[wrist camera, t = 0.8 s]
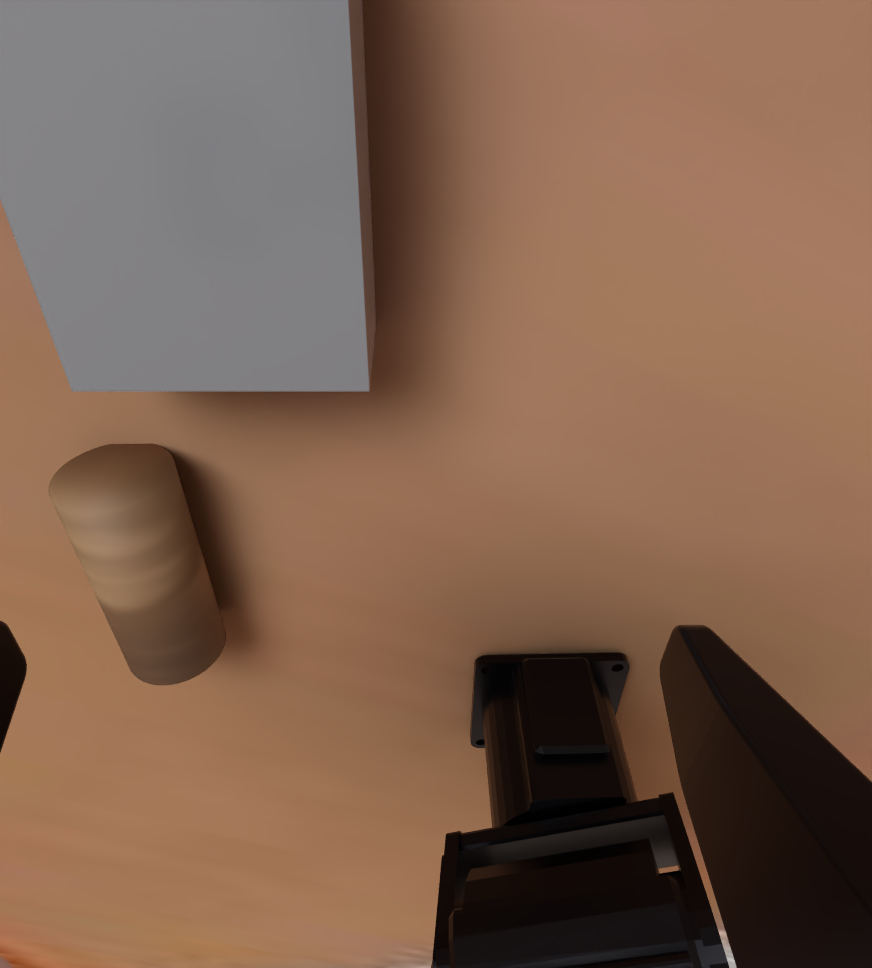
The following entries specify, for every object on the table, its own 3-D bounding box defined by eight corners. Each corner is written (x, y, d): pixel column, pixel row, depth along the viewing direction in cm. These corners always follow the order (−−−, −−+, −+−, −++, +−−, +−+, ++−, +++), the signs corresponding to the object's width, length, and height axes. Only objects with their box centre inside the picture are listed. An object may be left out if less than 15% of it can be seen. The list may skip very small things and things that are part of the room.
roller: (243, 621, 26) (189, 696, 23) (166, 600, 26) (106, 670, 24) (197, 453, 21) (122, 524, 18) (104, 433, 21) (20, 498, 19)
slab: (376, 320, 19) (369, 391, 16) (129, 319, 19) (72, 391, 16) (355, -166, 13) (337, -209, 10) (-14, -175, 13) (-157, -222, 9)
